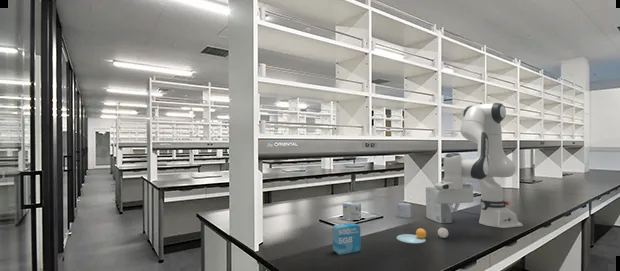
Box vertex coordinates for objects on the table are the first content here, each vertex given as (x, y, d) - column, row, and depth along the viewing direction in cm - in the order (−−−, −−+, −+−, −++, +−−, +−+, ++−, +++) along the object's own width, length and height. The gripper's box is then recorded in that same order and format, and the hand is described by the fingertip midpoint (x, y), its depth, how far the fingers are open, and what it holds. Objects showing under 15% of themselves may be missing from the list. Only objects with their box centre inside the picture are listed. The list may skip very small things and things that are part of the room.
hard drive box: (452, 223, 184) (451, 189, 185) (441, 224, 182) (440, 190, 183) (436, 216, 199) (435, 186, 200) (425, 217, 198) (425, 186, 198)
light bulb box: (361, 219, 196) (361, 202, 196) (359, 221, 189) (359, 204, 190) (345, 217, 199) (344, 201, 199) (342, 220, 193) (342, 203, 193)
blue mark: (418, 234, 163) (418, 233, 163) (430, 242, 149) (430, 242, 149) (392, 235, 162) (392, 234, 162) (402, 243, 148) (402, 243, 148)
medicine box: (409, 216, 201) (409, 203, 201) (411, 218, 197) (411, 204, 197) (397, 216, 202) (397, 203, 202) (398, 218, 198) (398, 204, 198)
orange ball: (417, 225, 158) (412, 234, 158) (421, 228, 153) (416, 236, 153) (425, 230, 159) (420, 238, 158) (429, 232, 154) (425, 241, 153)
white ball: (435, 227, 159) (437, 237, 159) (440, 230, 154) (442, 240, 154) (443, 225, 159) (446, 234, 159) (449, 228, 154) (451, 237, 154)
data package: (337, 255, 134) (336, 227, 134) (332, 251, 138) (332, 225, 138) (360, 251, 138) (360, 224, 139) (355, 248, 143) (355, 222, 143)
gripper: (468, 183, 162) (469, 209, 162) (431, 184, 160) (432, 210, 160) (476, 184, 156) (476, 212, 155) (437, 186, 154) (438, 213, 154)
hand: (453, 211), depth 158 cm, fingers closed
